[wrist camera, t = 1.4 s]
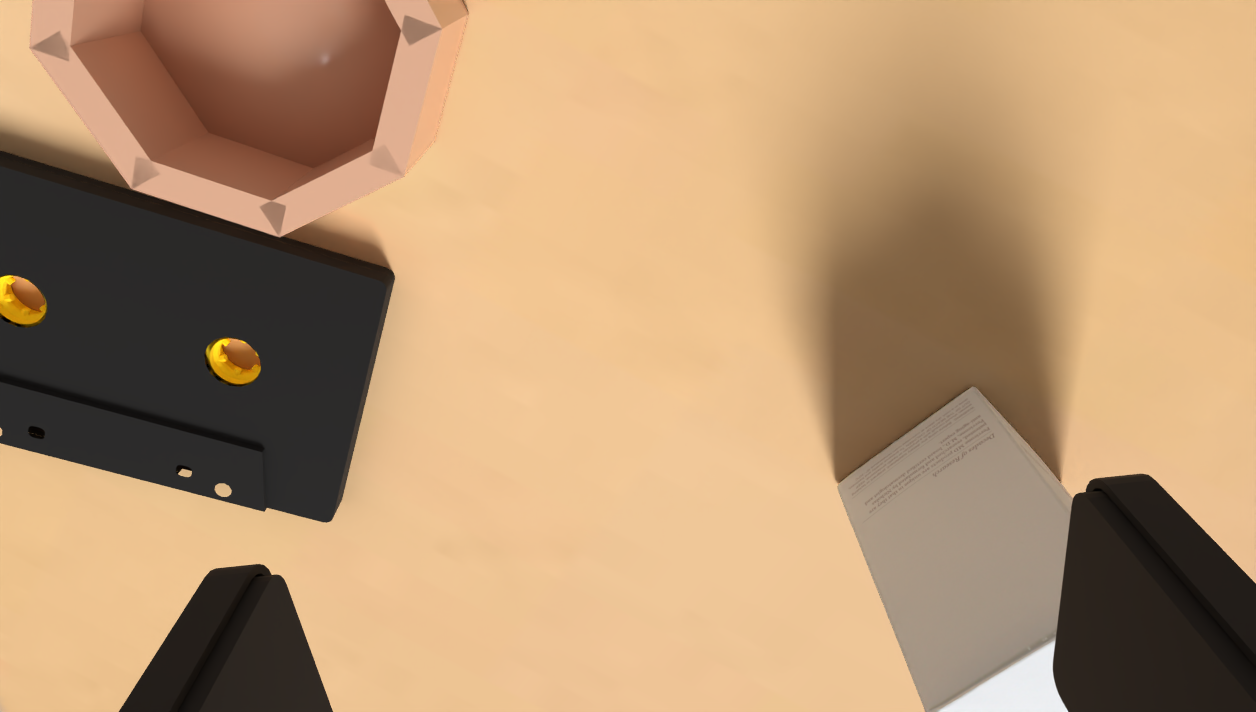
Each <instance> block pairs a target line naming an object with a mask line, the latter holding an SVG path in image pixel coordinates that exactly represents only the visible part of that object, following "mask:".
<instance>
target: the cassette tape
mask: <svg viewBox="0 0 1256 712" xmlns="http://www.w3.org/2000/svg"><path fill="white" fill-rule="evenodd" d="M16 161H17V162H16ZM26 164H27V165H26ZM39 168H40V169H39ZM49 171H50V172H49ZM72 178H73V179H72ZM95 185H96V186H95ZM105 188H106V189H105ZM128 195H129V196H128ZM151 202H152V203H151ZM174 209H175V210H174ZM184 212H185V213H184ZM207 219H208V220H207ZM230 226H231V227H230ZM253 233H254V234H253ZM263 236H264V237H263ZM286 243H287V244H286ZM309 250H310V251H309ZM332 257H333V258H332ZM342 260H343V261H342ZM365 267H366V268H365ZM12 276H18V277H21V278H24V279H25V280H26V281H30V282H31V283H32V284H34V285H35V286H36V287H37V288H38V289H39V290H40V292H41V293H42V295H43V297H44V300H45V304H46V305H45V304H44V305H43V306H42V307H40V308H39V310H40V311H42V312H40V311H35V310H32V309H30V308H28V307H26V306H25V305H24V304H22V303H21V302H20V301H19V300H18V299H17V297H16V296H15V295H14V293H13V291H12V288H11V284H12V283H14V282H15V281H16V279H14V278H13V277H12ZM394 280H395V276H394V273H393V272H392V271H391V270H390V269H388V268H385V267H381V266H378V265H375V264H372V263H368V262H365V261H362V260H358V259H355V258H352V257H348V256H345V255H342V254H339V253H335V252H332V251H329V250H325V249H322V248H319V247H316V246H312V245H309V244H306V243H302V242H299V241H296V240H293V239H289V238H286V237H283V236H281V237H277V236H274V235H271V234H268V233H265V232H262V231H259V230H256V229H253V228H250V227H246V226H243V225H240V224H237V223H234V222H231V221H228V220H225V219H222V218H219V217H216V216H213V215H210V214H207V213H203V212H200V211H197V210H194V209H191V208H187V207H184V206H181V205H177V204H174V203H171V202H167V201H164V200H161V199H158V198H154V197H151V196H148V195H144V194H141V193H138V192H135V191H131V190H128V189H125V188H121V187H118V186H115V185H112V184H108V183H105V182H102V181H98V180H95V179H92V178H89V177H85V176H82V175H79V174H75V173H72V172H69V171H65V170H62V169H59V168H56V167H52V166H49V165H46V164H42V163H39V162H36V161H33V160H29V159H26V158H23V157H19V156H16V155H13V154H10V153H6V152H3V151H0V428H1V429H2V435H1V436H0V443H1V444H5V445H9V446H13V447H17V448H21V449H25V450H28V451H32V452H36V453H40V454H44V455H48V456H52V457H56V458H59V459H63V460H67V461H71V462H75V463H79V464H83V465H86V466H90V467H94V468H98V469H102V470H106V471H110V472H113V473H117V474H121V475H125V476H129V477H133V478H137V479H140V480H144V481H148V482H152V483H156V484H160V485H164V486H167V487H171V488H175V489H179V490H183V491H187V492H191V493H194V494H198V495H202V496H206V497H210V498H214V499H218V500H221V501H225V502H229V503H233V504H237V505H241V506H245V507H248V508H252V509H256V510H260V511H265V510H266V508H271V509H274V510H278V511H282V512H286V513H290V514H294V515H298V516H301V517H305V518H309V519H313V520H317V521H321V522H330V521H331V520H332V519H333V517H334V515H335V513H336V511H337V509H338V507H339V504H340V502H341V500H342V497H343V493H344V489H345V485H346V480H347V476H348V472H349V468H350V464H351V460H352V455H353V451H354V447H355V443H356V439H357V434H358V430H359V426H360V422H361V418H362V414H363V409H364V405H365V401H366V397H367V393H368V389H369V384H370V380H371V376H372V372H373V368H374V363H375V359H376V355H377V351H378V347H379V343H380V338H381V334H382V330H383V326H384V322H385V318H386V313H387V309H388V305H389V301H390V297H391V292H392V288H393V284H394ZM25 327H27V328H25ZM228 338H232V339H239V340H240V341H241V342H242V343H248V344H249V345H250V346H251V347H252V348H253V349H254V350H255V353H256V355H257V356H258V357H259V359H260V363H261V365H260V367H259V366H258V365H257V364H256V365H254V366H253V367H252V368H251V370H246V369H242V368H240V367H238V366H236V365H234V364H233V363H232V362H230V360H229V359H228V358H227V355H226V354H224V351H223V347H222V344H223V345H224V346H227V345H228V344H229V343H230V342H231V341H230V340H229V339H228ZM378 338H379V339H378ZM373 359H374V360H373ZM207 363H208V365H209V366H210V367H209V368H207V366H206V364H207ZM216 375H217V376H218V377H219V378H221V379H223V380H222V381H220V380H219V379H218V378H216V377H215V376H216ZM231 384H233V385H235V386H231ZM28 432H29V433H28ZM32 433H33V434H32ZM347 468H348V469H347ZM181 469H186V470H190V471H192V475H191V477H183V476H180V475H178V473H179V472H180V471H181ZM177 471H178V472H177ZM218 483H225V484H227V485H229V486H230V488H231V490H232V493H231V495H230V496H228V497H221V496H219V495H217V494H216V492H215V490H214V489H215V485H217V484H218ZM342 489H343V490H342Z"/></svg>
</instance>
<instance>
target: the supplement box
mask: <svg viewBox="0 0 1256 712" xmlns="http://www.w3.org/2000/svg"><path fill="white" fill-rule="evenodd" d="M838 491H839V494H840V497H841V499H842V502H843V504H844V507H845V510H846V512H847V515H848V517H849V520H850V523H851V525H852V527H853V530H854V532H855V535H856V537H857V540H858V542H859V545H860V547H861V550H862V552H863V555H864V557H865V560H866V563H867V565H868V568H869V570H870V573H871V575H872V578H873V580H874V583H875V585H876V588H877V590H878V593H879V595H880V598H881V600H882V602H883V605H884V607H885V610H886V613H887V615H888V618H889V620H890V623H891V625H892V628H893V630H894V633H895V635H896V638H897V640H898V643H899V645H900V648H901V650H902V653H903V655H904V658H905V661H906V663H907V666H908V668H909V671H910V673H911V676H912V678H913V681H914V684H915V686H916V689H917V691H918V694H919V696H920V699H921V701H922V704H923V706H924V709H925V712H1068V711H1067V709H1066V707H1065V705H1064V704H1063V702H1062V700H1061V698H1060V696H1059V694H1058V691H1057V688H1056V685H1055V681H1054V677H1053V657H1054V648H1055V640H1056V632H1057V623H1058V615H1059V607H1060V598H1061V590H1062V581H1063V573H1064V565H1065V556H1066V548H1067V540H1068V531H1069V523H1070V514H1071V506H1072V501H1073V498H1072V497H1071V496H1070V494H1069V493H1068V492H1067V490H1066V489H1065V488H1064V486H1063V485H1062V484H1061V483H1060V482H1059V480H1058V479H1057V478H1056V477H1055V475H1054V474H1053V473H1052V472H1051V470H1050V469H1049V468H1048V467H1047V466H1046V464H1045V463H1044V462H1043V461H1042V460H1041V458H1040V457H1039V456H1038V455H1037V454H1036V453H1035V451H1034V450H1033V449H1032V448H1031V447H1030V446H1029V445H1028V444H1027V442H1026V441H1025V440H1024V439H1023V438H1022V437H1021V436H1020V435H1019V434H1018V433H1017V431H1016V430H1015V429H1014V428H1013V427H1012V426H1011V425H1010V424H1009V423H1008V422H1007V421H1006V420H1005V418H1004V417H1003V416H1002V415H1001V414H1000V413H999V412H998V411H997V410H996V409H995V408H994V407H993V405H992V404H991V403H990V402H989V401H988V400H987V399H986V398H985V397H984V396H983V395H982V394H981V393H980V391H979V390H978V389H977V388H976V387H971V388H969V389H968V390H967V391H965V392H963V393H962V394H961V395H959V396H958V397H957V398H955V399H954V400H952V401H951V402H949V403H948V404H946V405H945V406H944V407H943V408H941V409H940V410H938V411H937V412H936V413H934V414H933V415H931V416H930V417H929V418H927V419H926V420H924V421H923V422H922V423H920V424H919V425H917V426H916V427H915V428H913V429H912V430H911V431H909V432H908V433H907V434H905V435H904V436H902V437H901V438H899V439H898V440H896V441H895V442H894V443H892V444H891V445H890V446H888V447H887V448H886V449H884V450H883V451H882V452H880V453H879V454H877V455H876V456H874V457H873V458H872V459H870V460H869V461H868V462H866V463H865V464H864V465H862V466H861V467H859V468H858V469H856V470H855V471H854V472H853V473H851V474H850V475H849V476H848V477H846V478H845V479H844V480H843V481H841V482H840V483H839V484H838Z"/></svg>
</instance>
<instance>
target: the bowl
mask: <svg viewBox="0 0 1256 712" xmlns="http://www.w3.org/2000/svg"><path fill="white" fill-rule="evenodd" d="M468 15H469V13H468V11H467V9H466V7H465V5H464V3H463V1H462V0H33V4H32V18H31V32H30V47H29V48H30V50H31V51H32V52H33V54H34V55H35V56H36V58H37V59H38V61H39V62H40V63H41V65H42V66H43V67H44V69H45V70H46V72H47V73H48V74H49V76H50V77H51V78H52V80H53V81H54V83H55V84H56V85H57V87H58V88H59V90H60V91H61V92H62V94H63V95H64V96H65V98H66V99H67V101H68V102H69V103H70V105H71V106H72V107H73V109H74V110H75V112H76V113H77V114H78V116H79V117H80V119H81V120H82V121H83V123H84V124H85V125H86V127H87V128H88V130H89V131H90V132H91V134H92V135H93V136H94V138H95V139H96V141H97V142H98V143H99V145H100V146H101V148H102V149H103V150H104V152H105V153H106V154H107V156H108V157H109V159H110V160H111V161H112V163H113V164H114V165H115V167H116V168H117V170H118V171H119V172H120V174H121V175H122V177H123V178H124V179H125V181H126V182H127V183H128V185H129V186H130V188H131V189H133V190H136V191H139V192H142V193H145V194H148V195H151V196H154V197H157V198H161V199H164V200H167V201H170V202H173V203H176V204H179V205H182V206H185V207H188V208H191V209H194V210H197V211H200V212H203V213H207V214H210V215H213V216H216V217H219V218H222V219H225V220H228V221H231V222H234V223H237V224H240V225H243V226H246V227H250V228H253V229H256V230H259V231H262V232H265V233H268V234H271V235H274V236H277V237H281V236H283V235H285V234H287V233H290V232H292V231H294V230H296V229H298V228H300V227H302V226H304V225H306V224H308V223H310V222H312V221H314V220H316V219H318V218H320V217H322V216H324V215H327V214H329V213H331V212H333V211H335V210H337V209H339V208H341V207H343V206H345V205H347V204H349V203H351V202H353V201H355V200H357V199H359V198H361V197H364V196H366V195H368V194H370V193H372V192H374V191H376V190H378V189H380V188H382V187H384V186H386V185H388V184H390V183H392V182H394V181H396V180H399V179H401V178H403V177H404V176H405V175H406V174H407V173H408V172H409V171H410V169H411V168H412V167H413V166H414V165H415V164H416V162H417V161H418V160H419V159H420V158H421V157H422V156H423V154H424V153H425V152H426V151H427V150H428V149H429V148H430V146H431V145H432V144H433V143H434V142H435V138H436V134H437V130H438V127H439V123H440V119H441V115H442V112H443V108H444V104H445V101H446V97H447V93H448V89H449V86H450V82H451V78H452V75H453V71H454V67H455V63H456V60H457V56H458V52H459V48H460V45H461V41H462V37H463V34H464V30H465V26H466V22H467V19H468Z"/></svg>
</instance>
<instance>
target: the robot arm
mask: <svg viewBox="0 0 1256 712" xmlns="http://www.w3.org/2000/svg"><path fill="white" fill-rule="evenodd" d="M1053 677H1054V681H1055V685H1056V688H1057V691H1058V694H1059V696H1060V698H1061V700H1062V702H1063V704H1064V705H1065V707H1066V709H1067V711H1068V712H1256V584H1255V583H1254V581H1253V580H1252V579H1251V578H1250V577H1249V576H1248V575H1247V574H1246V573H1245V572H1244V571H1243V570H1242V569H1241V568H1240V567H1239V566H1238V565H1237V564H1236V563H1235V562H1234V561H1233V560H1232V559H1231V558H1230V557H1229V556H1228V555H1227V554H1226V553H1225V552H1224V551H1223V550H1222V548H1221V547H1220V546H1219V545H1218V544H1217V543H1216V542H1215V541H1214V540H1213V539H1212V538H1211V537H1210V536H1209V535H1208V534H1207V533H1206V532H1205V531H1204V530H1203V529H1202V528H1201V527H1200V526H1199V525H1198V524H1197V523H1196V522H1195V521H1194V520H1193V519H1192V518H1191V517H1190V516H1189V514H1188V513H1187V512H1186V511H1185V510H1184V509H1183V508H1182V507H1181V506H1180V505H1179V504H1178V503H1177V502H1176V501H1175V500H1174V499H1173V498H1172V497H1171V496H1170V495H1169V494H1168V493H1167V492H1166V491H1165V490H1164V489H1163V488H1162V487H1161V486H1160V485H1159V484H1158V483H1157V481H1156V480H1154V479H1153V478H1152V477H1150V476H1149V475H1146V474H1135V475H1125V476H1115V477H1105V478H1096V479H1093V480H1091V481H1090V482H1089V484H1088V485H1087V488H1086V492H1084V493H1078V494H1076V495H1075V496H1074V498H1073V501H1072V506H1071V514H1070V523H1069V531H1068V540H1067V548H1066V556H1065V565H1064V573H1063V581H1062V590H1061V598H1060V607H1059V615H1058V623H1057V632H1056V640H1055V648H1054V657H1053ZM119 712H333V711H332V708H331V705H330V703H329V700H328V697H327V694H326V692H325V689H324V686H323V683H322V681H321V678H320V675H319V672H318V670H317V667H316V664H315V661H314V659H313V656H312V653H311V650H310V648H309V645H308V642H307V639H306V637H305V634H304V631H303V628H302V626H301V623H300V620H299V617H298V615H297V612H296V609H295V606H294V604H293V601H292V598H291V595H290V593H289V590H288V587H287V584H286V582H285V580H284V579H283V578H282V577H281V576H280V575H271V573H270V571H269V569H268V568H267V567H266V566H265V565H261V564H256V565H246V566H236V567H226V568H216V569H214V570H212V571H210V572H209V573H208V574H207V575H206V576H205V578H204V579H203V581H202V583H201V584H200V586H199V587H198V589H197V590H196V592H195V594H194V595H193V597H192V598H191V600H190V601H189V603H188V604H187V606H186V608H185V609H184V611H183V612H182V614H181V615H180V617H179V619H178V620H177V622H176V623H175V625H174V626H173V628H172V629H171V631H170V633H169V634H168V636H167V637H166V639H165V640H164V642H163V644H162V645H161V647H160V648H159V650H158V651H157V653H156V655H155V656H154V658H153V659H152V661H151V662H150V664H149V665H148V667H147V669H146V670H145V672H144V673H143V675H142V676H141V678H140V680H139V681H138V683H137V684H136V686H135V687H134V689H133V690H132V692H131V694H130V695H129V697H128V698H127V700H126V701H125V703H124V705H123V706H122V708H121V709H120V711H119Z"/></svg>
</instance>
